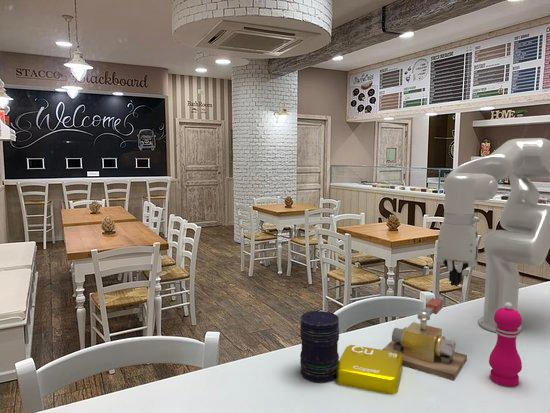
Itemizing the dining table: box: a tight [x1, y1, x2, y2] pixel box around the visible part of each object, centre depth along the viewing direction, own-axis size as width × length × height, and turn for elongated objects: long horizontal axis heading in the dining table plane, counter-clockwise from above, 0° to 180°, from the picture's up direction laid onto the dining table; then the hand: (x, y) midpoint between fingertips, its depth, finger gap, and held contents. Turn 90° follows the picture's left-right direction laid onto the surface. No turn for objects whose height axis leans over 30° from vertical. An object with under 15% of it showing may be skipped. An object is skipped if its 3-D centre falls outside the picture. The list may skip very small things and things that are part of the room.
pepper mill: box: [488, 302, 523, 387], centre depth 106 cm, size 7×7×20 cm
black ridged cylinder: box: [299, 310, 340, 384], centre depth 110 cm, size 10×10×15 cm
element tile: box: [335, 344, 404, 395], centre depth 110 cm, size 15×15×5 cm
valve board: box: [381, 340, 468, 381], centre depth 118 cm, size 13×20×2 cm, turn 53°
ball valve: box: [391, 319, 456, 364], centre depth 117 cm, size 7×16×10 cm, turn 53°
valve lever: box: [417, 297, 444, 321], centre depth 121 cm, size 14×3×2 cm, turn 143°
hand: (455, 284), depth 120 cm, fingers closed
